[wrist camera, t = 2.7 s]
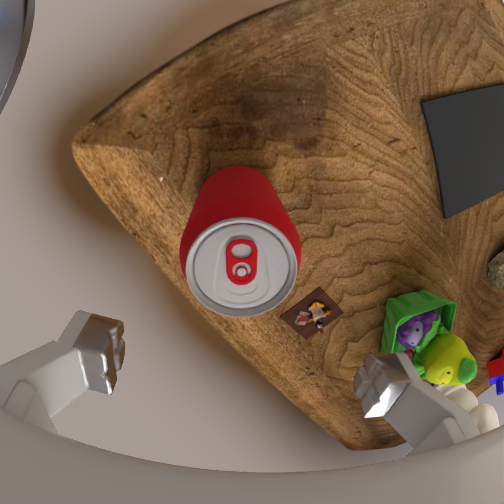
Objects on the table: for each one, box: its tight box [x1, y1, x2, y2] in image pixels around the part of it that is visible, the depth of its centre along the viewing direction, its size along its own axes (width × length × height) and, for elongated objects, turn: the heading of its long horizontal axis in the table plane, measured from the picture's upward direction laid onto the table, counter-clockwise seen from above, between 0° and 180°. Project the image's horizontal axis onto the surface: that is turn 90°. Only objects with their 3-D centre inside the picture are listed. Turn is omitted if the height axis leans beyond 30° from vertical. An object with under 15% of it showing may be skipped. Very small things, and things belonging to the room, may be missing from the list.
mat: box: [420, 84, 504, 219], centre depth 23 cm, size 14×12×1 cm
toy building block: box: [488, 348, 504, 395], centre depth 37 cm, size 4×4×8 cm
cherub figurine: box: [432, 384, 500, 434], centre depth 29 cm, size 12×12×22 cm
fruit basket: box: [379, 289, 477, 385], centre depth 27 cm, size 11×9×11 cm
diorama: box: [281, 287, 343, 340], centre depth 29 cm, size 3×4×2 cm
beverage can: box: [179, 165, 301, 318], centre depth 19 cm, size 6×6×12 cm
